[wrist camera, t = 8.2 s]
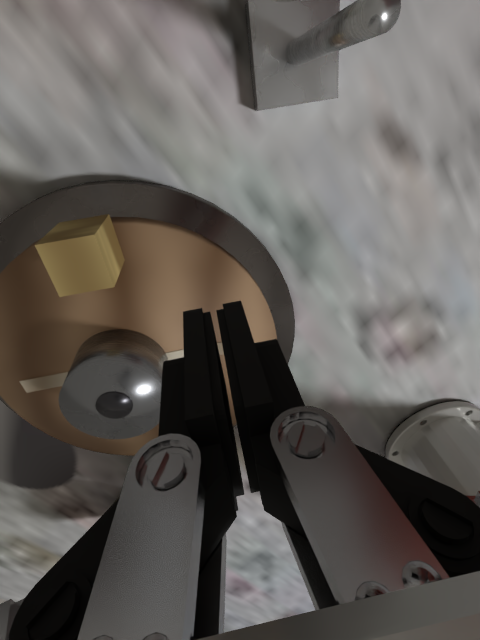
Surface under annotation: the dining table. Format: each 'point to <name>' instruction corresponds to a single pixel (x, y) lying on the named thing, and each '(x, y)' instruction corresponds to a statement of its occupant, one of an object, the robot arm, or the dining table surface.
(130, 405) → the cover
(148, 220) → the platter
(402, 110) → the dining table surface
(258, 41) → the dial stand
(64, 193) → the turntable base
